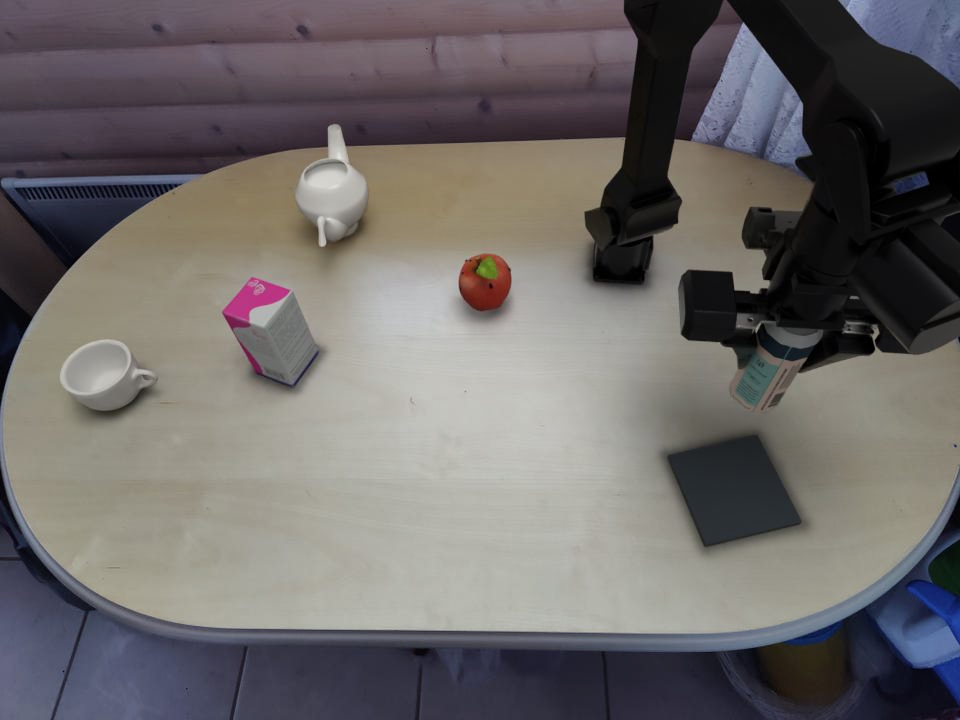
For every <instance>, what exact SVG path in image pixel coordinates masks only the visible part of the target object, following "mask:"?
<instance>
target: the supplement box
mask: <svg viewBox="0 0 960 720" xmlns="http://www.w3.org/2000/svg"><path fill="white" fill-rule="evenodd" d="M221 314H222V316H223V317H224V320H225V321H226V322H227V325H228V326H229V328H230V329H231V332H232V333H233V335H234V337H235V338H236V340H237V342H238V344H239V346H240V348H241V349H242V351H243V353H244V354H245V356H246V358H247V359H248V362H249V363H250V365H251V367H252V369H253V370H254V373H256V374H257V375H260V376H262V377H265V378H267V379H271V380H272V381H275V382H278V383H280V384H283V385H285V386H287V387H290V388H295V387H296V385H297V384H298V383H299V381H300V380H301V378H302V377H303V376H304V374H305V373H306V371H307V370H308V369H309V367H310V366H311V364H312V363H313V361H314V360H315V359H316V358H317V356H318V354H319V349H318V347H317V344H316V341H315V339H314V337H313V335H312V332H311V329H310V327H309V325H308V322H307V321H306V318H305V316H304V313H303V311H302V308H301V306H300V304H299V302H298V299H297V297H296V295H295V292H294V290H293V289H292V290H291V289H289V288H287V287H283V286H281V285H277V284H274V283H271V282H268V281H265V280H263V279H260V278H257V277H254V276H251V277H250V278H249V279H248V281H246V283H245V284H244V285H243V286H242V288H241V289H240V290H239V291H238V292H237V293H236V295H235V296H234V297H233V298H232V299H231V300H230V302H229V303H228V304H227V305H226V306H225V307H224V308H223V309H222V311H221Z"/></svg>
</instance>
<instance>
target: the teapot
mask: <svg viewBox="0 0 960 720" xmlns="http://www.w3.org/2000/svg"><path fill="white" fill-rule="evenodd" d="M369 193H370V191H369V185H368V182H367V179H366V177H365V176H364V175H363V173H362V172H361V171H360V170H359V169H358V168H356V167H355V166H354V165H352V164H351V163H350V159H349V154H348V150H347V145H346V142H345V138H344V135H343V131H342V128H341V125H339V124H337V123H332V124H330V125H329V126H328V127H327V157H325V158H321V159H318V160H315V161H313V162H311V163H310V164H309V165H307V166H306V167H305V168H304V170H302V172H301V174H300V175H299V178H298V180H297V183H296V185H295V188H294V199H295V204H296V206H297V209H298V210H299V212H300V213H301V215H302V216H303V217H304V219H306V220H307V221H308V222H309V223H310V224H312V225H313V226H315V227H316V228H317V229H318V245H319V247H321V248H322V247H325V246H326V245H327V241H328V242H331V243H333V242H334V243H335V242H338V241H341V240H342V239H343V238H346V237H349V236H351V235H352V234H353V233H355V232H356V230H357V228H358V226H359V221H360V220H361V219H362V217H363V216H364V214H365V212H366V211H367V208H368V203H369V199H370V198H369V197H370V194H369Z"/></svg>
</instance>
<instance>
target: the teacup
mask: <svg viewBox="0 0 960 720" xmlns="http://www.w3.org/2000/svg"><path fill="white" fill-rule="evenodd" d="M59 371H60V372H59V380H60V383H61V386H62V387H63V388H64V390H65V391H66V392H67V393H68V394H69V395H70V396H72V397H73V398H74V399H75V400H77V401H78V402H79V403H80V404H82V405H84V406H86V407H87V408H89V409H92V410H95V411H101V412H102V411H104V412H107V411H114V410H115V411H116V410H118V409H121V408H123V407H125V406H127V405H128V404H130V403H131V402H132V401H133V400H134V399H136V398H137V396H138V395H139V393H140V391H141V390H142V389H144V388H147V387H151V386H153V385H155V384H157V382H158V381H159V377H158V375H157V374H156V373H155V372H153V371H151V370H149V369H144V368H142V367H141V365H140V363H139V362H138V359H136V357H135V356H134V354H133V353H132V351H131V349H130V348H129V347H128V346H127V345H126V344H124V343H123V342H121V341H119V340H116V339H99V340H94V341H91V342H88V343H86V344H83V345H82V346H80V347H78V348H77V349H75V350H74V351H73V352H72V353H71V354H70V355H68V357H67V358H66V360H65V361H64V362H63V364H62V366H61V369H60V370H59ZM144 376H147V377H150V378H151V379H145V378H144Z"/></svg>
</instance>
